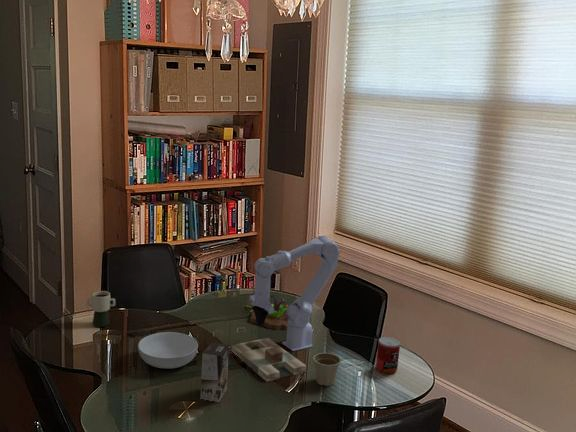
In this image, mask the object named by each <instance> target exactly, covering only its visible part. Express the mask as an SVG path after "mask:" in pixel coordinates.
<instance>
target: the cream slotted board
mask: <svg viewBox="0 0 576 432" xmlns="http://www.w3.org/2000/svg"><path fill="white" fill-rule="evenodd" d="M275 347H276V348H278V349H279V350H281V351H282V352H283V359H282V362H277V363H273V364H271V363H270V362H269V361H267V360H266V359H265V350H266V349H271V348H275ZM231 351H232V352H233V353H234V354H235V355H234V354H233V353H232V352H231ZM230 352H231V353H232V354H233V355H234V356H236V355H237V356H238V357H239V358H240V359H241V360H240V359H239V358H238V357H237V356H236V357H237V358H238V359H239V360H240V361H241V362H243V361H244V362H245V363H246V364H247V365H246V364H245V363H244V362H243V363H244V364H245V365H246V366H247V367H249V368H250V367H251V368H252V369H253V370H252V369H251V368H250V369H251V370H252V371H254V372H255V373H256V374H257V375H258V376H259V377H261V378H262V379H263V380H264V381H265V382H270V381H275V380H280V379H284V378H287V377H290V376H291V377H292V376H294V375H295V376H296V375H299V374H303V373H306V371H307V365H306V364H305V363H304V362H302V361H300V359H298V358H297V357H295V356H294V355H293V354H291V353H290V352H288V351H286V350H285V349H284V348H282V347H281V346H280V345H278V344H277V343H276V342H275V341H273V340H272V339H271V338H269V337H264V338H261V339H260V338H259V339H256V340H250V341H246V342H240V343H235V344H231V345H230Z"/></svg>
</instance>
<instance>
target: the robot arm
mask: <svg viewBox="0 0 576 432" xmlns="http://www.w3.org/2000/svg"><path fill="white" fill-rule="evenodd" d="M310 254H312V255H313V254H314V255H317V256H320V259H321V262H322V263H321V264H320V266H319V268H318V269H317V271H316V272H315V274H314V275H313V276H312V279H311V281H310V282H309V283H308V285H307V286H306V288H305V289H304V291H303V292H302V294H301V296H300V297H298V298H296V299H295V300H294V301H293V303H291V304H290V305H288V307H287V315H288V317H289V320H288V326H287V330H286V340H285V341H282V342H281V344H282V345H284V346H285V347H286V348H288V349H289V350H290V351H293V352H296V351H299V350H304V349H309V348H313V332H314V331H313V326H312V324H311V323H310V317H311V315H312V313H313V305H314V303H315V301H316V300H317V298H318V297H319V295H320V294H321V292H322V291H323V289H324V287H325V286H326V285H327V283H328V281H329V280H330V279H331V277H332V275H333V274H334V272H335V271H336V269H337V268H338V261H339V255H340V254H341V251H340V248H339V246H338V244H337V242H334V241H333V240H332V239H330V238H329V236H327V235H320V236H319V237H315V238H313V239H312V240H310V241H308V242H306V243H305V244H302V245H300V246H298V247H295V248H293V249H292V250H289V251H286V250H278V251H277V253H275V254H272V255H267V256H265V257H260V258H258V259H257V260H256V261H255V263H254V264H253V268H254V271H255V278H254V279H255V280H254V293H253V295H250V296H249V302H251V309H252V312H254V313H255V317H256V322H257V324H256V325H257V326H259V327H263V326H262V325H264V322H265V319H266V316H267V314H268V313H269V314H271V313H274V308H273V307H272V303H271V301H270V295H271V294H270V293H271V282H272V281H271V277H272V275H273V273H274V272H276V271H278V270H281V269H284V268H285V267H288V266H290V265H291V263H292V261H294V260H297V259H300V258H302V257H305V256H306V257H307V256H308V255H310Z"/></svg>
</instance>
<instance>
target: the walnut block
mask: <svg viewBox="0 0 576 432" xmlns="http://www.w3.org/2000/svg"><path fill="white" fill-rule="evenodd" d="M265 359H266V360H267V361H269V362H270V363H271V364H273V363H277V362H282V359H283V352H282V351H281V350H279V349H278V348H276V347H275V348H271V349H266V350H265Z"/></svg>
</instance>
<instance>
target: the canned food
mask: <svg viewBox="0 0 576 432" xmlns="http://www.w3.org/2000/svg"><path fill="white" fill-rule="evenodd" d="M377 343H378V344H377V345H378V346H377V353H376V363H375V366H376V370H377V371H379V372H380V373H381V374H385V375H392V374H395V373H397V371H398V366H399V357H400V350H401V349H400V347H401V342H400V340H398V339H397V338H395V337H391V336H382V337H379V338H378V342H377Z"/></svg>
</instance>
